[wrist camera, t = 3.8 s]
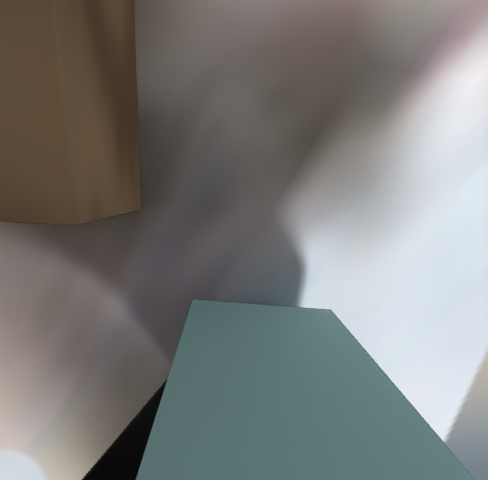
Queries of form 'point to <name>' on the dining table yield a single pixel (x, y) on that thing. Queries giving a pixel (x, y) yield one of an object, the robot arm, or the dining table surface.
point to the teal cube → (285, 404)
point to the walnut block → (68, 111)
